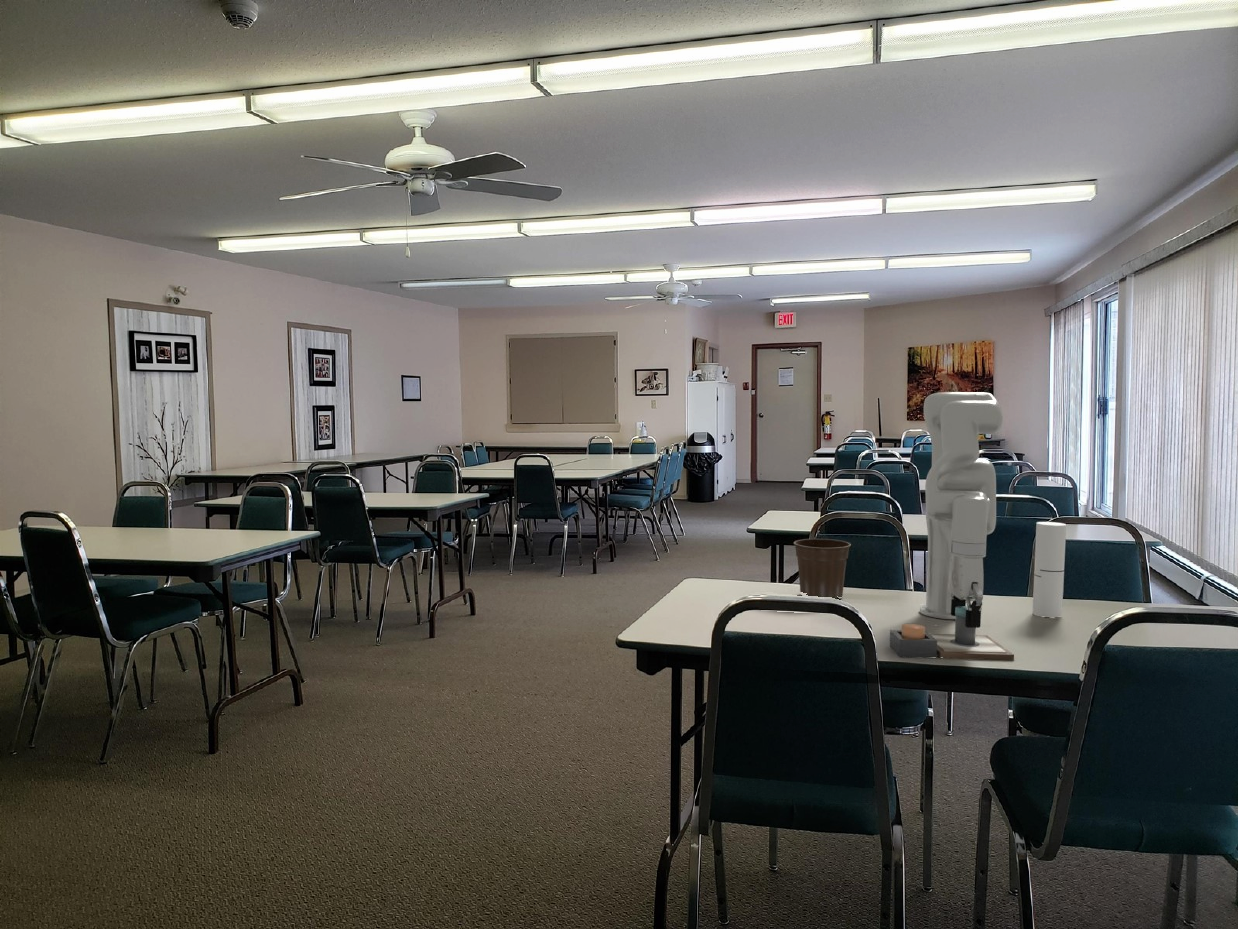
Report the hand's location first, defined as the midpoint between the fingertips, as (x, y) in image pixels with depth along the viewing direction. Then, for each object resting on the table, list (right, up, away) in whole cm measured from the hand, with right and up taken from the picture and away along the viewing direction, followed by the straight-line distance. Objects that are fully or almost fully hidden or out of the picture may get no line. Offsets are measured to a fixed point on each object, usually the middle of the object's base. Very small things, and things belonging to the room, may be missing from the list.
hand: (965, 621), depth 195 cm
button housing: (-13, -7, -3) cm, 15 cm away
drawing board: (0, -6, 0) cm, 6 cm away
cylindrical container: (+36, -5, +33) cm, 49 cm away
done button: (-13, -4, -3) cm, 14 cm away
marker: (0, -5, 0) cm, 5 cm away
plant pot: (-21, -3, +52) cm, 56 cm away
